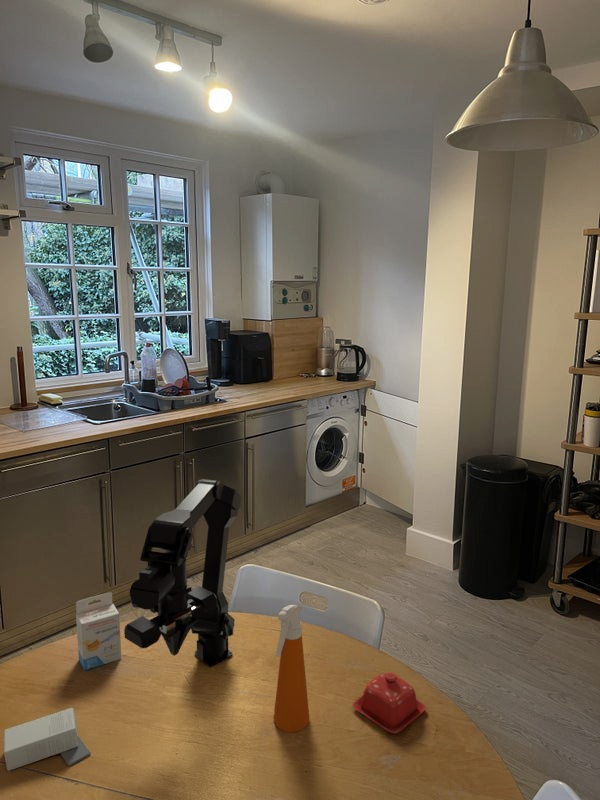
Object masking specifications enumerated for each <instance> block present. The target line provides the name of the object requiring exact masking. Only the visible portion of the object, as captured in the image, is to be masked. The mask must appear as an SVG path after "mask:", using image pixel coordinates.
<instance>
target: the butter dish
mask: <svg viewBox="0 0 600 800" xmlns="http://www.w3.org/2000/svg"><path fill="white" fill-rule="evenodd" d="M352 708H353V709H354V710H355V711H357V712H358V713H360V714H362V715H363V716H365V717H366V718H367V719H369V720H371V721H372V722H373V723H375V724H376V725H378V726H379V727H381V728H383V729H384V730H386V731H387V732H389V733H391V734H397V733H399V732H401V731H403V730H404V729H405V728H406V727H407V726H408V725H410V724H411V723H412V722H413V721H415V720H416V719H417V718H418V717H419V716H421V714H423V713H424V712H425V710H426V709H427V706H426V704H424V703H423V702H422V701H421V700H420V699H417V696H416V691H415V688H414V687H413V685H411V684H410V683H409V682H407V681H406V680H405V679H403V678H402V677H400V676H398V675H397V674H395V673H394V672H390V671H388V672H383V673H380V674H379V675H377V676H375V677H373V678H372V679H371V680H370V681H369V682H368V683H367V684H366V685H365V688H364V690H363V694H362V695H360V696H359V697H357V698H356V699H355V700H354V701H353V702H352Z"/></svg>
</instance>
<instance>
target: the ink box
mask: <svg viewBox="0 0 600 800" xmlns="http://www.w3.org/2000/svg"><path fill="white" fill-rule="evenodd" d="M94 601H99V602H94ZM92 602H94V603H92ZM89 603H91V604H89ZM75 609H76V610H75V611H76V614H75V623H76V634H77V635H76V637H77V638H76V639H77V649H78V650H77V651H78V661H79V663H80V665H81V667H82V668H83V671H87V670H91V669H94V668H96V667H100V666H102V665H106V664H109V663H113V662H115V661H119V660H122V644H121V641H122V640H121V625H120V624H121V623H120V621H121V620H120V612H119V611H118V609H117V607H116V606H115V604H114V603H113V592H111V591H110V592H105V593H102V594H98V595H94V596H90V597H87V598H83V599H80V600H77V601H76V602H75Z"/></svg>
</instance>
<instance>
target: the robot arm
mask: <svg viewBox="0 0 600 800" xmlns="http://www.w3.org/2000/svg"><path fill="white" fill-rule="evenodd" d="M241 505H242V496H241V494H240V493H239V492H238V490H237V489H236V488H232V487H229V486H227V485H225V484H224V483H222V482H221V481H219V480H214V479H213V480H212V479H205V478H202V479H199V480H197V482H196V484H195V487H194V488H193V489H192V490H191V491H190V492H189V494H188V495H187V496H186V497H185V498H184V499H183V500H182V501H181V502H180V503H179V505H178V506H177V507H176V508H175V509H173V510H170V511H167V512H163V513H162V514H160V515H158V517H156V518H155V519H154V520H153V521H152V522H151V524H150V525H149V526H148V529H147V531H146V537H145V540H144V545H143V547H142V551H141V554H140V559H139V560H140V562H145V563H147V566H146V567H145V568H143V569H142V570H141V571H139V574H138V576H139V577H137V578H136V580H135V581H133V582H132V584H131V585H130V588H129V595H130V602H131V605H132V607H133V608H140V609H142V610H147V611H149V612H151V613H153V614H155V613H156V614H157V615H156V616H154V617H153V618H150V619H149V618H147V617H145V616H143V615H142V616H140V617H138V618H135V619H134V620H132V621H130V622H129V623H127V624H126V625H124V629H123V632H124V639H126V640H127V641H129V642H131V643H132V644H134V645H135V646H137V647H139V648H141V649H147V648H149V647H151V646H153V645H154V644H156V643H157V642H159V640H160V638H161V637H162V638H163V640H164V641H165V644H166V646H167V648H168V650H169V652H170V653H169V654H170V655H172V656H174V657H175V656H177V655H178V654H179V652H180V650H181V648H182V646H183V644H184V641H185V640H186V638H187V636H188V634H189V632H190V631H191V633H192V634H193V635H194V634H196V635H197V640H196V651H194V656H196V657H197V658H198V659H199V660H201V661H202V662H203V663H205V665H206V666H208V667H213V666H215V665H216V664H219V663H221V662H223V661H225V660H227V659H229V658H231V657H232V656H233V651H231V650H230V649H229V637H231V636H233V635H234V628H235V618H234V617H233V616H232V615H230V614H229V602H228V600H227V597H226V596H225V594H224V592H223V591H224V590H223V589H224V583H225V582H224V580H225V571H226V563H227V562H226V561H227V550H228V544H229V543H228V542H229V533H230V532H229V531H230V526H231V525H232V524H233V522H234V521H235V520H236V519H237V517H238V513H239V510H240V508H241ZM202 517H203V518H204V521H205V522H206V525H207V533H206V535H207V536H206V544H205V545H206V546H205V554H204V562H203V563H204V564H203V565H204V566H203V570H202V571H203V573H202V582H201V583H202V584H201V586H197V587H194V588H193V589H192V585H189V584H188V578H187V575H188V574H187V569H188V568H187V557H188V553H189V551H190V547H191V544H192V542H193V539H194V530H193V528H194V527H195V525H197V523H198V522H199V521H200V519H201V518H202ZM153 549H157V550H162V552H160V551H154V550H153Z"/></svg>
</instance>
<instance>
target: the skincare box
mask: <svg viewBox="0 0 600 800" xmlns="http://www.w3.org/2000/svg"><path fill="white" fill-rule="evenodd" d="M78 737H79V735H78V727H77V719H76V713H75V710H74V708H73V707H69V708H65V709H64V710H60V711H58V712H54V713H52V714H48V715H45V716H43V717H40V718H37V719H34V720H30V721H27V722H25V723H24V722H23V723H21V724H18V725H15V726H12V727H9V728H6V729H4V731H3V755H4V759H5V760H4V761H5V765H6V770H7V771H8V772H10V771H13V770H15V769H18V768H21V767H24V766H26V765H30V764H32V763H35V762H37V761H38V762H39V761H41V760H44V759H46V758H49V757H51V756H52V757H53V756H55V755H58V754H60V753H61V752H64V751H66V750H69V749H72V748H75V747H78V745H79V743H78Z"/></svg>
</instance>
